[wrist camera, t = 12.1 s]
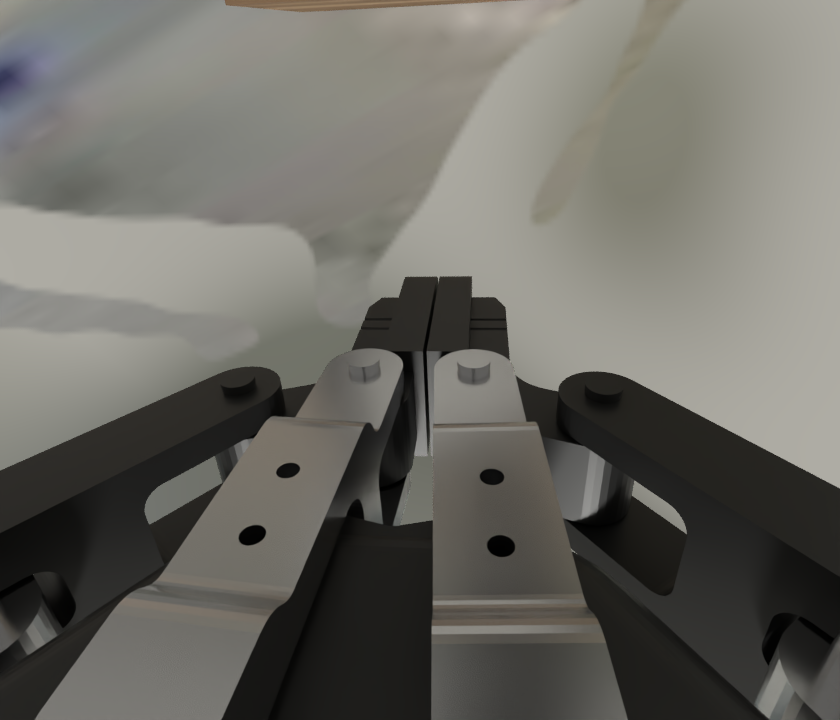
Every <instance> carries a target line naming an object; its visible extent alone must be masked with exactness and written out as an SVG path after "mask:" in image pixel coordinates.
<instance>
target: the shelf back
mask: <svg viewBox="0 0 840 720" xmlns="http://www.w3.org/2000/svg"><path fill="white" fill-rule="evenodd" d="M497 1H516V0H225V3H226V5H230V6H241V7H252V8H263V9H274V10H285V11H296V12H311V11H330V10H348V9H367V8H386V7H404V6H423V5H441V4H460V3H479V2H497Z"/></svg>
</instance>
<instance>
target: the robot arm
mask: <svg viewBox="0 0 840 720" xmlns="http://www.w3.org/2000/svg"><path fill="white" fill-rule="evenodd" d="M429 442H430V443H431V456H433V520H432V521H426V522H419V523H413V524H406V525H401V521H402V517H403V513H404V510H405V506H406V502H407V499H408V495H409V491H410V487H411V478H410V470H411V468H412V465H413V459H414V456H428V449H429ZM213 456H215V458H216V461H217V465H218V469H219V472H220V475H221V479H222V484H220V485H218V486H216V487H215V488H213V489H211V490H210V491H208V492H206V493H204V494H203V495H201V496H199V497H198V498H196V499H194V500H192V501H190V502H189V503H187V504H185V505H183V506H182V507H180V508H178V509H177V510H175V511H173V512H172V513H170V514H168V515H166V516H164V517H163V518H161V519H159V520H157V521H156V522H154V523H152V524H150V525H149V524H148V521H147V519H146V516H145V512H144V508H145V503H146V500H147V499H148V497H149V495H150V494H151V493H152V492H153V491H154V490H155V489H156V488H157V487H158V486H160V485H161V484H163V483H165V482H167V481H168V480H171V479H172V478H174V477H176V476H178V475H180V474H181V473H184V472H185V471H187V470H189V469H191V468H193V467H195V466H196V465H198V464H200V463H202V462H204V461H206V460H208V459H210V458H211V457H213ZM634 480H635V481H637V482H638V483H639V484H641V485H642V486H644V487H645V488H647V489H648V490H650V491H651V492H653V493H654V494H656V495H657V496H659V497H660V498H661V499H663V500H664V501H666V502H667V503H669V504H670V505H671V506H672V507H673V508H675V509H676V511H677V512H678V513H679V514H680V516H681V517H682V519H683V521H684V523H685V526H686V530H687V534H685V533H684V532H683V531H681V530H679V529H678V528H677V527H675V526H674V525H673V524H671V523H670V522H668V521H667V520H666V519H664V518H663V517H661V516H660V515H658V514H657V513H655V512H654V511H653V510H651V509H650V508H649V507H647V506H646V505H644V504H643V503H641V502H640V501H639V500H637V499H636V498H634V497H633V496H632V490H633V485H634ZM571 549H572V550H574V551H575V552H576V553H577V554H576V553H574V552H572V551H571ZM33 574H34V575H33ZM0 720H840V489H839V488H837V487H836V486H834V485H832V484H830V483H828V482H826V481H824V480H822V479H820V478H818V477H816V476H815V475H813V474H811V473H809V472H806V471H805V470H803V469H801V468H799V467H797V466H795V465H794V464H791V463H790V462H788V461H786V460H784V459H782V458H780V457H778V456H776V455H774V454H772V453H770V452H768V451H766V450H765V449H763V448H761V447H759V446H757V445H755V444H753V443H751V442H749V441H747V440H746V439H744V438H742V437H740V436H738V435H736V434H734V433H732V432H730V431H728V430H727V429H725V428H723V427H721V426H719V425H717V424H715V423H713V422H711V421H709V420H707V419H705V418H703V417H701V416H700V415H698V414H696V413H694V412H692V411H690V410H688V409H686V408H684V407H682V406H680V405H679V404H677V403H675V402H673V401H671V400H669V399H667V398H665V397H663V396H661V395H659V394H657V393H656V392H654V391H652V390H650V389H648V388H646V387H644V386H642V385H640V384H638V383H636V382H635V381H633V380H631V379H628V378H626V377H623V376H620V375H616V374H613V373H607V372H583V373H578V374H575V375H572V376H570V377H568V378H566V379H565V380H564V381H562V383H561V384H560V386H559V391H558V392H557V391H552V390H548V389H543V388H539V387H536V386H533V385H530V384H528V383H526V382H524V381H523V380H521V379H520V378H518V377H517V376H516V375H515V371H514V367H513V365H512V363H511V362H510V359H509V347H508V335H507V323H506V310H505V307H504V306H503V305H502V304H501V303H500V302H499V301H498V300H497V299H496V298H494V297H490V298H489V297H486V298H483V297H481V298H479V297H476V298H475V297H473V298H472V277H469V276H467V277H466V276H465V277H464V276H463V277H440V278H439V283H438V278H437V277H405V279H404V282H403V286H402V289H401V292H400V295H399V298H381V299H380V300H379V301H377V302H376V303H374V304H373V305H372V306H370V307H369V309H368V312H367V314H366V317H365V321H363V324H362V326H361V330H360V331H359V334H358V336H357V339H356V341H355V343H354V346H353V348H352V351H349V352H346V353H344V354H341V355H339V356H337V357H335V358H334V359H332V360H331V361H330V363H329V364H328V365H327V366H326V368H325V370H324V371H323V373H322V375H321V376H320V378H319V379H318V381H317V383H315V384H311V385H307V386H300V387H295V388H289V389H283V390H282V386H281V381H280V377H279V376H278V374H277V373H275V372H274V371H272V370H270V369H267V368H263V367H241V368H236V369H232V370H228V371H225V372H222V373H220V374H217V375H215V376H213V377H211V378H208V379H206V380H204V381H201V382H199V383H197V384H195V385H193V386H191V387H188V388H186V389H184V390H181V391H179V392H177V393H174V394H172V395H170V396H168V397H166V398H163V399H161V400H159V401H157V402H154V403H152V404H150V405H148V406H145V407H143V408H141V409H138V410H136V411H134V412H132V413H130V414H127V415H125V416H123V417H120V418H118V419H116V420H114V421H111V422H109V423H107V424H104V425H102V426H100V427H98V428H96V429H93V430H91V431H89V432H86V433H84V434H82V435H80V436H77V437H75V438H73V439H71V440H69V441H66V442H64V443H62V444H59V445H57V446H55V447H53V448H50V449H48V450H46V451H44V452H41V453H39V454H37V455H35V456H33V457H30V458H28V459H26V460H23V461H21V462H19V463H17V464H14V465H12V466H10V467H8V468H5V469H3V470H1V471H0Z"/></svg>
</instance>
